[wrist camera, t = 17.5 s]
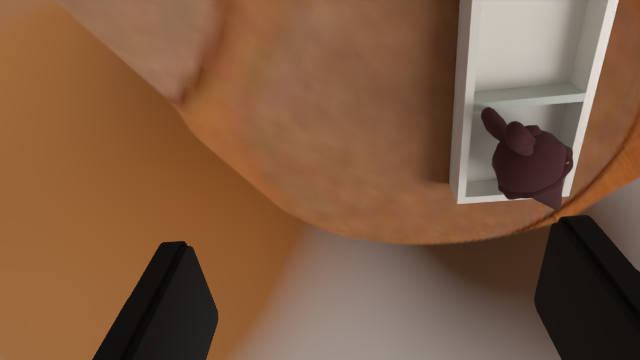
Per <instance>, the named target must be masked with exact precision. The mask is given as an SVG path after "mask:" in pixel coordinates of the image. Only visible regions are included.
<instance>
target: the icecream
mask: <svg viewBox="0 0 640 360" xmlns="http://www.w3.org/2000/svg"><path fill="white" fill-rule="evenodd" d="M481 119H482V122H483V124H484V126H485V128H486V130H487V131H488V132H489V133H490V134H491V135H492V136H493V137H494V138H495V139H497V140H499V141H500V142H499V143H498V145H497V147H496V150H495V152H494V155H493V157H492V167H493V169H494V171H495V174H496V177H497V181H498V190H499V191H500V192H502V193H503V194H504V195H505V197H506V198H507V199H508V200H515V199H520V198H525V199H526V198H533V199H535V200H537V201H539V202H541V203H543V204H545V205H547V206H549V207H551V208H553V209H555V210H559V209H560V208H561V202H562V187H563V179H564V178H565V177H566V176H567V174H568V173H569V172H570V171H571V170H572V168H573V150H572V149H571V148H570V147H568V146H566V145H564V144H563V143H562V142H560V141H559V140H558V139H557V138H556V137H555V136H554V135H553V134H551V133H549V132H546V131H543V130H541V129H540V128H539V127H538V125H527V126H524V125H523V124H522V123H520V122H518V121H512V122H510V123H509V124H508V125H507V124H506V122H505V120H504V119H503V118H502V117H501V116H500V115H499V114H498V113H497V112H496V111H495V110H494V109H493V108H491V107H486V108H485V109H483V110H482V112H481Z"/></svg>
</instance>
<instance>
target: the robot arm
mask: <svg viewBox="0 0 640 360" xmlns="http://www.w3.org/2000/svg"><path fill="white" fill-rule="evenodd" d="M534 301H535V306H536V310H537V312H538V314H539V316H540V318H541V320H542V322H543V324H544V326H545V328H546V330H547V332H548V334H549V336H550V338H551V340H552V341H553V343H554V345H555V347H556V349H557V351H558V353H559V355H560V357H561V359H562V360H640V272H639V271H638V270H636V269H635V268H634V266H633V265H632V264H631V263H630V262H629V261H628V259H627V258H626V257H625V256H624V255H623V254H622V253H621V251H620V250H619V249H618V248H617V247H616V246H615V245H614V243H613V242H612V241H611V240H610V239H609V237H608V236H607V235H606V234H605V233H604V232H603V230H602V229H601V228H600V227H599V226H598V225H597V224H596V222H595V221H594V220H593V219H592V218H591V217H590V216H587V215H581V216H565V217H561V218H560V219H559V220H558V223H553V224H552V226H551V229H550V233H549V238H548V242H547V246H546V250H545V254H544V259H543V263H542V267H541V271H540V276H539V280H538V284H537V288H536V292H535V297H534ZM217 323H218V311H217V308H216V305H215V303H214V300H213V298H212V295H211V293H210V290H209V287H208V285H207V282H206V280H205V277H204V275H203V272H202V269H201V267H200V264H199V262H198V259H197V257H196V254H195V251H194V249H193V247H191V246H187V244H186V243H185V242H184V241H177V242H163V243H161V244H160V246H159V247H158V249H157V251H156V252H155V254H154V256H153V257H152V259H151V261H150V263H149V264H148V266H147V268H146V270H145V271H144V273H143V275H142V276H141V278H140V280H139V282H138V284H137V285H136V287H135V288H134V290H133V292H132V294H131V296H130V297H129V298H128V299H127V301H126V303H125V304H124V306H123V308H122V309H121V311H120V313H119V315H118V317H117V318H116V320H115V322H114V323H113V325H112V327H111V328H110V330H109V332H108V334H107V335H106V337H105V339H104V340H103V342H102V344H101V346H100V347H99V349H98V351H97V352H96V354H95V356H94V358H93V359H92V360H206V358H207V355H208V352H209V348H210V345H211V342H212V339H213V336H214V333H215V329H216V326H217Z"/></svg>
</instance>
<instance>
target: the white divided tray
mask: <svg viewBox="0 0 640 360" xmlns="http://www.w3.org/2000/svg"><path fill="white" fill-rule="evenodd" d="M618 1H619V0H460V5H459V22H458V39H457V56H456V73H455V90H454V107H453V125H452V142H451V159H450V176H449V185H450V188H451V190H452V193H453V195H454V197H455V200H456V202H457V204H463V203H478V202H492V201H506V200H508V199H507V198H506V197H505V195H504V194H503V193H502V192H500V191H499V190H498V181H497V177H496V174H495V171H494V169H493V167H492V157H493V155H494V152H495V150H496V147H497V145H498V143H499V142H500V141H499V140H497V139H495V138H494V137H493V136H492V135H491V134H490V133H489V132H488V131H487V130H486V128H485V126H484V124H483V122H482V119H481V112H482V110H483V109H485V108H486V107H491V108H493V109H494V110H495V111H496V112H497V113H498V114H499V115H500V116H501V117H502V118H503V119H504V120H505V122H506V124H507V125H508V124H509V123H510V122H512V121H518V122H520V123H522V124H523V125H524V126H527V125H538V127H539V128H540V129H541V130H543V131H546V132H549V133H551V134H553V135H554V136H555V137H556V138H557V139H558V140H559V141H560V142H562V143H563V144H564V145H566V146H568V147H570V148H571V149H572V150H573V168H572V170H571V171H570V172H569V173H568V174H567V176H566V177H565V178H564V179H563V187H562V197H564V196H569V194H570V190H571V186H572V182H573V178H574V174H575V170H576V166H577V162H578V158H579V154H580V150H581V146H582V142H583V138H584V135H585V131H586V127H587V123H588V119H589V115H590V111H591V107H592V103H593V99H594V95H595V91H596V87H597V83H598V79H599V76H600V72H601V68H602V64H603V60H604V56H605V52H606V48H607V44H608V40H609V36H610V32H611V28H612V24H613V20H614V16H615V13H616V9H617V5H618ZM521 199H525V198H520V199H515V200H521ZM526 199H533V198H526Z"/></svg>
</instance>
